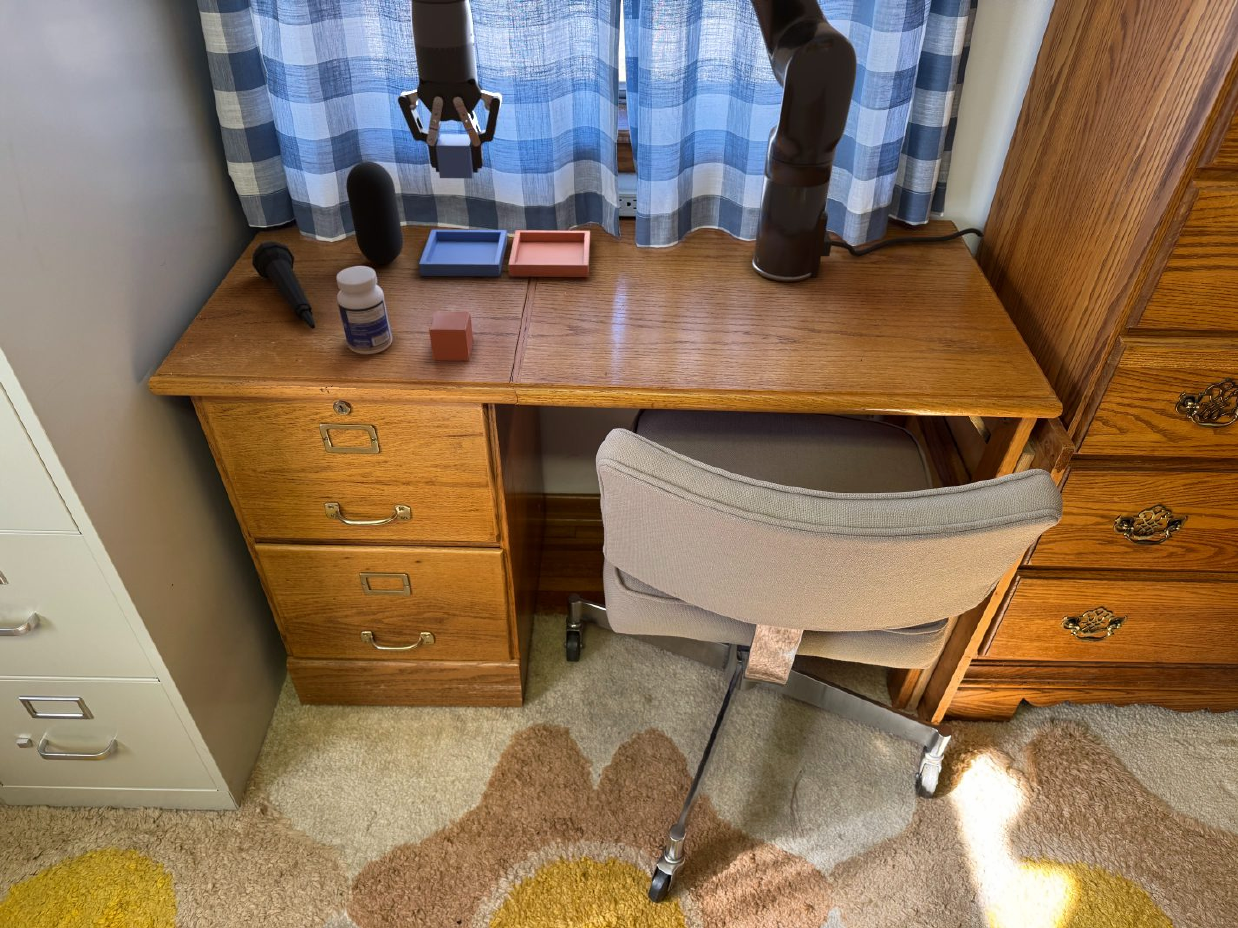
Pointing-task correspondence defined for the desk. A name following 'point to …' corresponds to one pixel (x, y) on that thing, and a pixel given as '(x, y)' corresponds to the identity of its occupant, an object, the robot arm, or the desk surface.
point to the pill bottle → (363, 310)
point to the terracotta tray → (550, 253)
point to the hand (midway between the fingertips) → (458, 170)
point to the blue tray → (464, 253)
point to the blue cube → (454, 156)
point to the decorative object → (374, 212)
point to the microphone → (283, 277)
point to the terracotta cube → (451, 335)
